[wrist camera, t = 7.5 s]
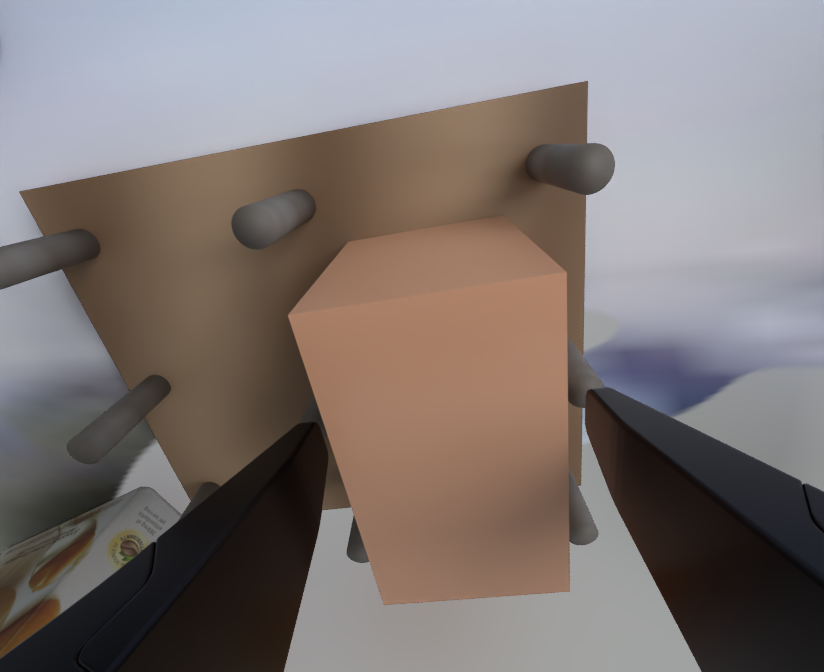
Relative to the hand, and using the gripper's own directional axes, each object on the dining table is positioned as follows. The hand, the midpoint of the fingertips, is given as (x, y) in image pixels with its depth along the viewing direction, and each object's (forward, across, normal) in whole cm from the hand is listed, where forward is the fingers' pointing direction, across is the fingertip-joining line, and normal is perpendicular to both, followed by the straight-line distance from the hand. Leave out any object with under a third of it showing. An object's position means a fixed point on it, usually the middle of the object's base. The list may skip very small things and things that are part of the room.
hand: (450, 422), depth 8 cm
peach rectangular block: (+4, 0, 0) cm, 4 cm away
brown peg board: (+4, +3, 0) cm, 5 cm away
